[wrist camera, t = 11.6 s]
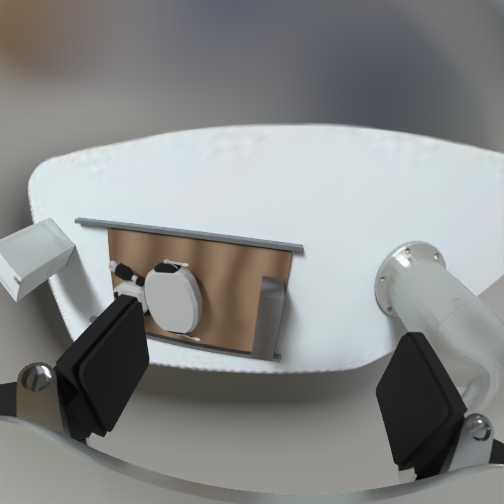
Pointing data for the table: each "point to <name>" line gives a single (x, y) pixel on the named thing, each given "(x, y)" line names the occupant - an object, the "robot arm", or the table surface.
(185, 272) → the robot toy
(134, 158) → the table surface
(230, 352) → the guide rails
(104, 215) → the table surface
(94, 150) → the table surface
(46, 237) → the skincare box
